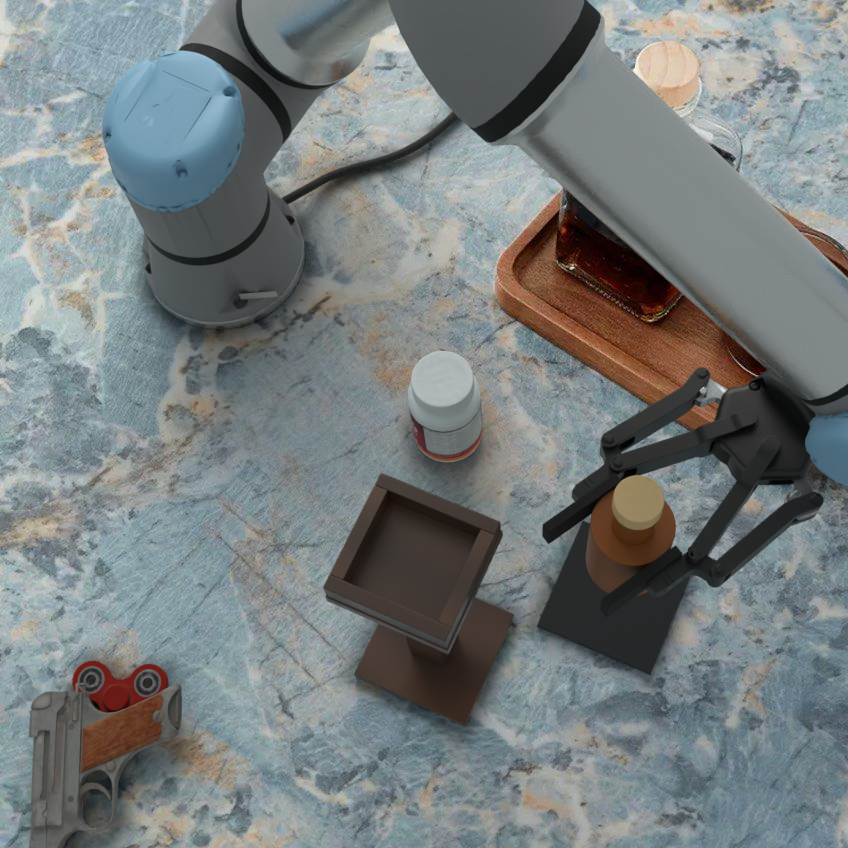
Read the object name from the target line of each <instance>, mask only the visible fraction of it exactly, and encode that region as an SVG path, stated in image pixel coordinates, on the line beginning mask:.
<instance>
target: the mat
mask: <svg viewBox="0 0 848 848" xmlns="http://www.w3.org/2000/svg"><path fill="white" fill-rule="evenodd" d="M589 527H590V522H588V521H585V520H582V521H581V524H580V525H579V529H578V530H577V532H576V535H575V538H574V540H573V542H572V544H571V547H570V549H569V551H568V553H567V556H566V558H565V561H564V563H563V565H562V568H561V570H560V572H559V574H558V576H557V578H556V581H555V583H554V586H553V588H552V590H551V592H550V595H549V597H548V599H547V601H546V604H545V606H544V608H543V611H542V613H541V615H540V618H539V619H538V622H537V624H536V626H537V627H538V628H540V629H542V630H545V631H547V632H548V633H549V632H550V633H551V634H553V635H556V636H558V637H561V638H563V639H565V640H568V641H570V642H573V643H574V644H577V645H580V646H582V647H585V648H587V649H589V650H592V651H594V652H595V653H599V654H600V655H603V656H605V657H607V658H610V659H612V660H615V661H616V662H619V663H622V664H624V665H626V666H629V667H630V668H633V669H635V670H638V671H640V672H643V673H644V674H647V675H649V676H651V675H652V673H653V671H654V669H655V665H656V663H657V660H658V658H659V656H660V653H661V651H662V648H663V645H664V643H665V640H666V638H667V635H668V633H669V630H670V628H671V626H672V623H673V622H674V621H673V620H674V618H675V616H676V613H677V610H678V608H679V606H680V603H681V600H682V598H683V595H684V593H685V590H686V588H687V585H688V583H689V580H690V578H691V576H689V577H687V578H685V579H684V580H683V581H681V582H680V583H679V584H677V585H676V586H675V587H673V588H672V589H670V590H669V591H667V592H666V593H665V594H664V595H662V596H661V597H657V598H653V597H652V596H651V595H650V593H649V592H647V593H645V594H642V595H639V596H636V597H634V598H633V599H631V600H630V601H629V602H627V603H626V604H625V605H623V606H622V607H620V608H619V609H618V610H616V611H615V612H614V613H612V614H611V615H609V616H608V617H607V618H606V616H605V615H604V614H603V613H602V611H601V610H600V606H601V601H602V598H603V597H605V596H606V595H608V594H609V593H607V592H605V591H604V590H602V589H601V588H600V587H599V586H597V584H596V583H595V582H594V581H593V580H592V578H591V576H590V574H589V572H588V569H587V566H586V550H587V542H588V535H589Z"/></svg>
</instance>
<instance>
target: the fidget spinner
mask: <svg viewBox="0 0 848 848" xmlns="http://www.w3.org/2000/svg"><path fill="white" fill-rule="evenodd" d="M91 677H95V682H94V683H93V684H90V683H89V679H90V678H91ZM148 680H151V681H152V685H151V686H150V687H148V688H147V687H146V685H145V684H146V681H148ZM71 682H72V683H71V684H72V688H73V692H75V687H76V683H85V692H89V699H90V701H92V702H93V701H94V702H95V703H96V704H97V705H98V707H99V711H102V712H106V713H111V712H117V711H120V710H123V709H125V708H128V707H130V706H133V705H135V704H137V703H139V702H141V701H143V700H146V699H148V698H150V697H152V696H154V695H156V694H158V693H160V692H161V691H163V690H164V689H166V688H168V687H169V677H168V674H167V673H166V671H165V670H164V669H163V668H162V667H161V666H158V665H156V664H154V663H144V664H142V665H139V666H138V667H136V668H135V669H134V670H133V671H132V672H131V674H130V675H129V676H127V677H126V678H123V679H121V678H120V679H119V678H115V677H114V676H113V674H112V672H111V670H110V668H109V667H108V666H107V665H106V664H104V663H103V662H100V661H98V660H88V661H84V662H83V663H81V664H80V665H79V666H78V667H77V668H76V669H75V671H74V673H73V676H72V681H71ZM78 692H82V686H79V687H78Z"/></svg>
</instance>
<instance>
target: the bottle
mask: <svg viewBox="0 0 848 848" xmlns="http://www.w3.org/2000/svg"><path fill="white" fill-rule="evenodd" d="M589 523H590V527H589V535H588V542H587V550H586V566H587V569H588V572H589V574H590V576H591V578H592V580H593V581H594V582H595V583H596V584H597V586H599V587H600V588H601V589H602V590H604V591H605V592H607V593H610V592H612V591H613V590H615V589H616V588H617V587H619V586H620V585H621V584H623V583H624V582H626V581H627V580H628V579H630V578H631V577H632V576H634V575H635V574H637V573H638V572H639V571H641V570H642V569H644V568H645V567H646V566H648V565H649V564H650V563H652V562H653V561H655V560H656V559H657V558H659V557H660V556H661V555H663V554H664V553H666V552H667V551H668V550H670V549H671V548H673V544H674V541H675V537H676V531H677V524H676V523H677V522H676V518H675V515H674V512H673V510H672V507H671V506H670V505H669V504H668V502H667V501H666V500H665V493H664V492H663V489H662V487H661V486H660V484H659V483H658V482H657V481H656V480H654V479H653V478H651V477H649V476H646V475H634V476H630V477H627V478H625V479H624V480H622V481H621V482H620V483H619V484H618V485H617V487H616V489H614V490H612V491H610V492H608V493H607V494H605V495H604V496H603V497H602V498H601V499H600V500H599V501H598V502H597V504H596V505H595V507H594V509H593V512H592V514H591V515H590V521H589ZM647 592H648V591H647V590H646V589H645V590H644V591H642V592H641V593H640V594H638V595H637V596H639V595H642V594H645V593H647Z"/></svg>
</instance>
